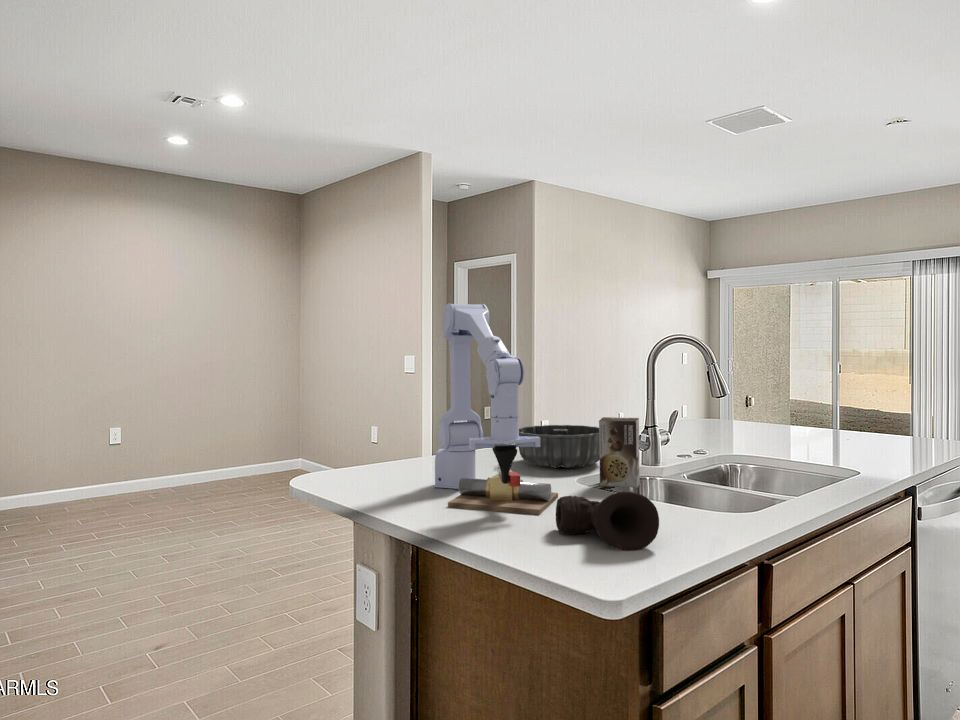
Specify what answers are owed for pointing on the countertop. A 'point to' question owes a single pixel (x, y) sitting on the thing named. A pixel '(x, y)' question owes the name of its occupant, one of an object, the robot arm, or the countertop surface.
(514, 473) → the valve lever
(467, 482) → the valve body
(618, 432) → the coffee box
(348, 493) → the countertop surface
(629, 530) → the pipe
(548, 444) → the bundt pan
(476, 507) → the mount board
